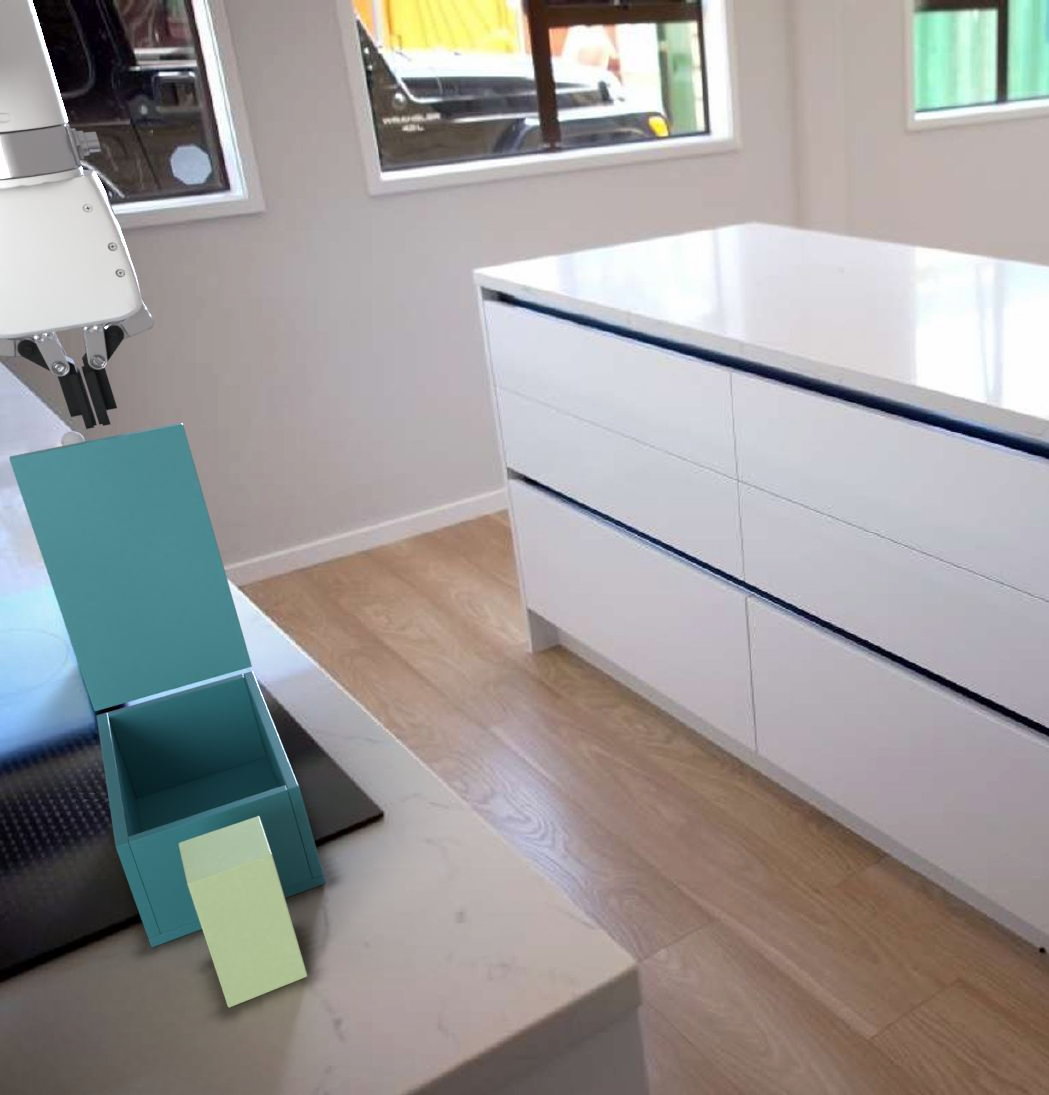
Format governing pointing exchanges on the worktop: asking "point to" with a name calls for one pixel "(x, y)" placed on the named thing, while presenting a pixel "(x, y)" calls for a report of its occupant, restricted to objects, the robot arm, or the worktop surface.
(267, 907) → the carton
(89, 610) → the lunchbox lid
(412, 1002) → the worktop surface
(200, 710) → the box
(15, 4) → the robot arm
